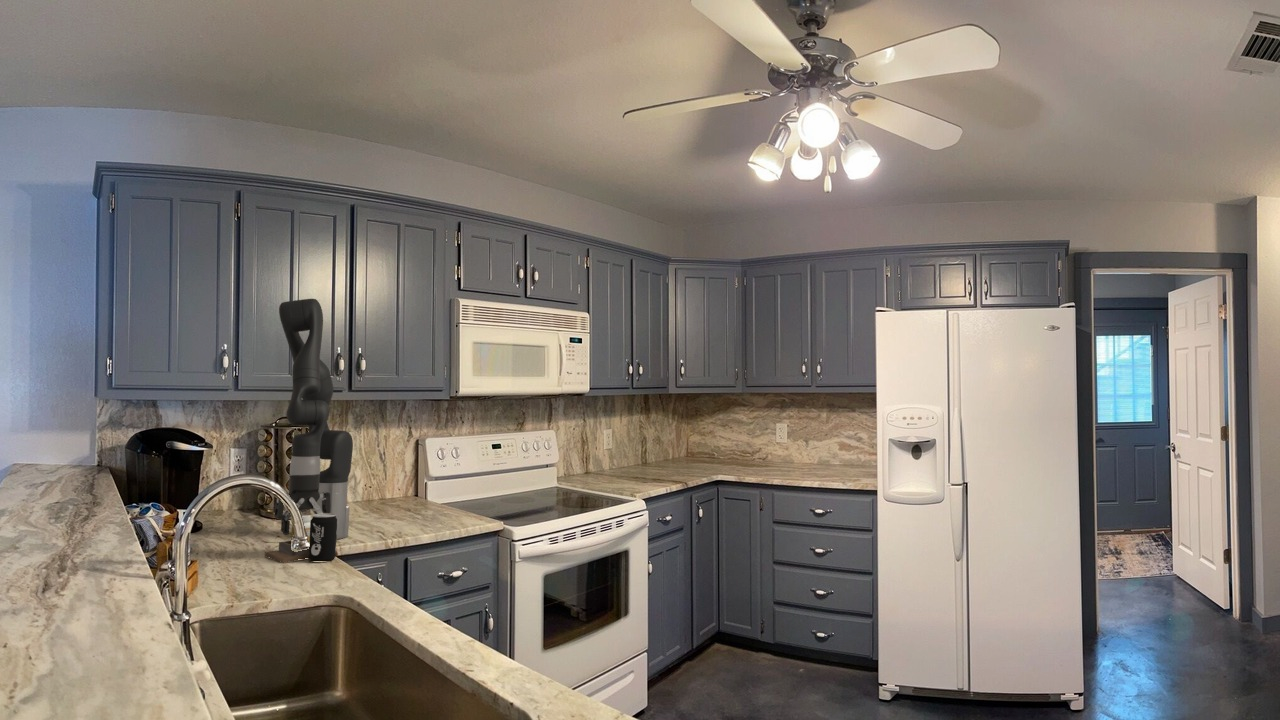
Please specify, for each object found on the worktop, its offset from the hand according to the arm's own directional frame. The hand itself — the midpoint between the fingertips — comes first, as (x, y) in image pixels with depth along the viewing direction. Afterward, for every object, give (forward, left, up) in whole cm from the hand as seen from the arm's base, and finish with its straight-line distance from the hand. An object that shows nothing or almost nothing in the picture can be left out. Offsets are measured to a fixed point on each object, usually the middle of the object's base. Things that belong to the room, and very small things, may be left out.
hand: (301, 532), depth 192 cm
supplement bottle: (0, 0, -5) cm, 5 cm away
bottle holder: (0, 0, -6) cm, 6 cm away
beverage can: (-1, +10, -6) cm, 12 cm away
